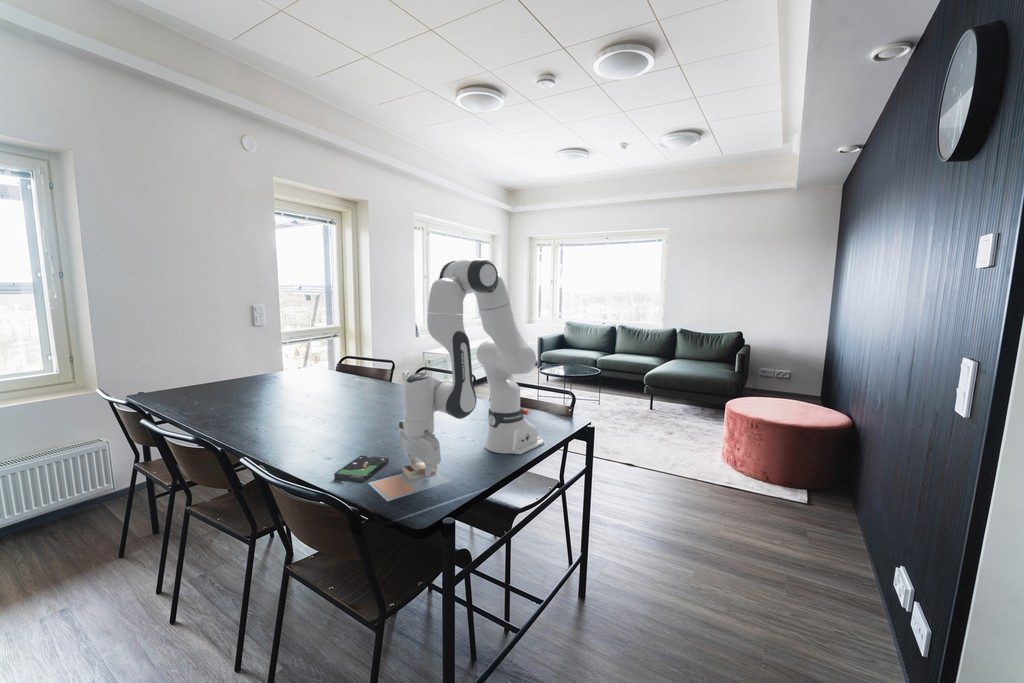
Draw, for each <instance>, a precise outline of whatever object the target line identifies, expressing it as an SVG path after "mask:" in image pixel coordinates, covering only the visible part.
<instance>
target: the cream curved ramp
mask: <svg viewBox="0 0 1024 683" xmlns="http://www.w3.org/2000/svg"><path fill="white" fill-rule="evenodd" d="M425 467H426V466H425V463H424V462H422V461H419V462H416V464H412V465H410V464H409V465H404V466H402V473H403V475H404V476H405V477H406V478H408V479H409V480H413V479H417V478H420V477H424V476H425V475H424V472H423V470H424V469H425ZM437 472H438V465H434V466H433V467H432V469H431V474H434V473H437Z"/></svg>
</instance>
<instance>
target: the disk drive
mask: <svg viewBox="0 0 1024 683" xmlns="http://www.w3.org/2000/svg"><path fill="white" fill-rule="evenodd" d="M389 460H390V459H389V457H382V456H381V457H379V456H371V457H368V456H367V455H360V456H358V457H356V458H355V459H353V460H352V461H350V462H349V463H347V464H346V465H344V466H343V467H342V468H340V469H338V470H337V471H335V472H334V475H333V476H334V481H337V480H338V481H339V482H345V480H346V481H348V480H349V481H355V482H356V481H357V482H364V483H365V482H366V481H368V480H369V479H370V478H371V477H372V476H374V475H375V474H376V473H378V472H379V471H380V470H382V468H385V466H386V465H387V464H389ZM338 481H337V482H338Z"/></svg>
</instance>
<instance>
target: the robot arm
mask: <svg viewBox="0 0 1024 683" xmlns="http://www.w3.org/2000/svg"><path fill="white" fill-rule="evenodd" d="M441 268H442V269H441V270H440V272H439V277H438V279H437V280H435V281H434V282H433V283H432V285H431V287H430V292H429V296H428V305H427V316H426V317H427V319H426V321H427V322H426V323H427V330H428V333H429V335H430V336H431V338H432V339H433V340H434V341H435V342H437V343H438V344H440V345H441V346H442V347H443V348H445V350H446V351H447V352H448V354H449V357H450V360H451V374H452V382H451V381H448V380H442V379H440V378H438V377H437V378H436V377H434V376H432V374H430V373H429V372H416V373H414V374H411V375H410V376H408V377H407V378H406V380H405V382H404V389H403V390H404V391H403V406H404V408H405V413H404V419H402V420H398V422H397V425H398V426H397V427H398V428H399V429H398V430H399V432H398V433H399V444H400V446H401V449H403V450H404V451H406V452H407V453H406V454H407V458H408V460H409V462H408V463H409V465H412V464H416V463H418V462H417V459H418V460H419V461H420V462H424V463H425V466H426V467H425V469H424V470H423V472H424V475H425V476H430V475H431V469H432V467H433V466H434V465H437V466H438V465H440V463H441V460H442V457H441V446H440V442H439V439H438V438H436V434H434V432H435V414H434V413H435V412H440V413H444V414H447V415H449V416H451V417H452V418H455V419H458V420H459V419H460V420H461V419H465V418H467V417H468V416H470V414H471V413H472V412H473V411H474V410H475V408H476V404H477V394H476V390H475V386H474V379H473V367H472V355H471V345H470V339H469V337H468V335H467V334H466V331H465V326H464V300H465V297H466V295H468V294H474V296H475V297H476V301H477V307H478V311H479V316H480V319H481V324H482V328H483V331H484V332H485V333H486V334H487V335H488V336H489V337H490V338H491V339H490V340H486V341H483V342H482V343H481V344H479V346H478V347H477V349H476V359H477V361H478V363H479V364H480V366H481V367H482V368H483V370H484V373H485V376H486V380H487V383H488V388H489V408H488V417H487V418H488V431H487V438H486V441H485V445H484V448H485V449H486V450H487V451H489V452H493V453H498V454H512V455H522V454H524V453H526V452H529V451H531V450H533V449H535V448H538V447H540V446H542V445H544V444H545V441H544V439H542V438H541V437H539V435H538V430H537V427H536V426H535V425H534V424H533V423H531V422H530V421H528V420H527V419H526V418H525V417H524V415H525V416H529V414H530V411H529V409H526V408H523V409H522V408H521V388H520V386H519V384H518V383H517V382H516V380H515V379H514V376H513V375H526V374H529V373H531V372H532V371H533V369H534V368H535V366H536V363H537V355H536V352H535V350H534V349H533V348H532V347H531V346H529V344H528V343H527V342H526V341H525V340H524V338H523V336H522V335H521V332H520V331H519V329H518V327H517V324H516V322H515V319H514V314H513V310H512V304H511V302H510V301H511V300H510V298H509V293H508V290H507V286H506V285H505V282H504V279H503V277H502V276H501V275H500V274H499V273H498V270H497V267H496V265H494V263H493V262H492V261H491V260H489V259H486V258H481V257H480V258H479V257H478V258H463V259H461V260H452V261H450V262H447V263H446V264H444V265H443V267H441ZM543 443H544V444H543ZM539 445H540V446H539Z"/></svg>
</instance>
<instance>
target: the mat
mask: <svg viewBox="0 0 1024 683" xmlns="http://www.w3.org/2000/svg"><path fill="white" fill-rule="evenodd" d="M451 482H452V480H451V479H449V478H448V477H447V476H444V475H443V474H442V473H440V472H438V471H437V473H434V474H431V475H430V476H424V477H420V478H417V479H413V480H409V479H408V478H406V477H405V476H404V475H403V472H402V473H400V474H399V473H398V474H395V475H391V476H388V477H385V478H381V479H378V480H374V481H370V482H367V484H368V485H369V486H370V487H371V488H372V489H373V490H375V491H376V492H377V493H378V494H379V495H380V496H381V497H382V498H383V499H384V500H385V501H386V502H390V501H393V500H397V499H401V498H402V497H405V496H410V495H412V494H416V493H419V492H422V491H425V490H428V489H432V488H435V487H438V486H442V485H444V484H448V483H451Z"/></svg>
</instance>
